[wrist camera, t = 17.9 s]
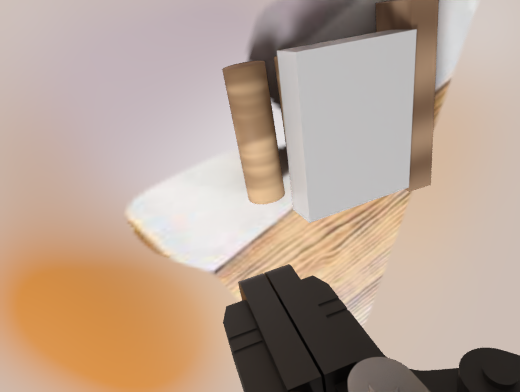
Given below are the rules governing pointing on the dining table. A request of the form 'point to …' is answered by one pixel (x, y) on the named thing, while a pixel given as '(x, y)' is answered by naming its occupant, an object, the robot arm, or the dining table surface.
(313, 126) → the slab
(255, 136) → the roller
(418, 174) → the rail
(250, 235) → the dining table surface
